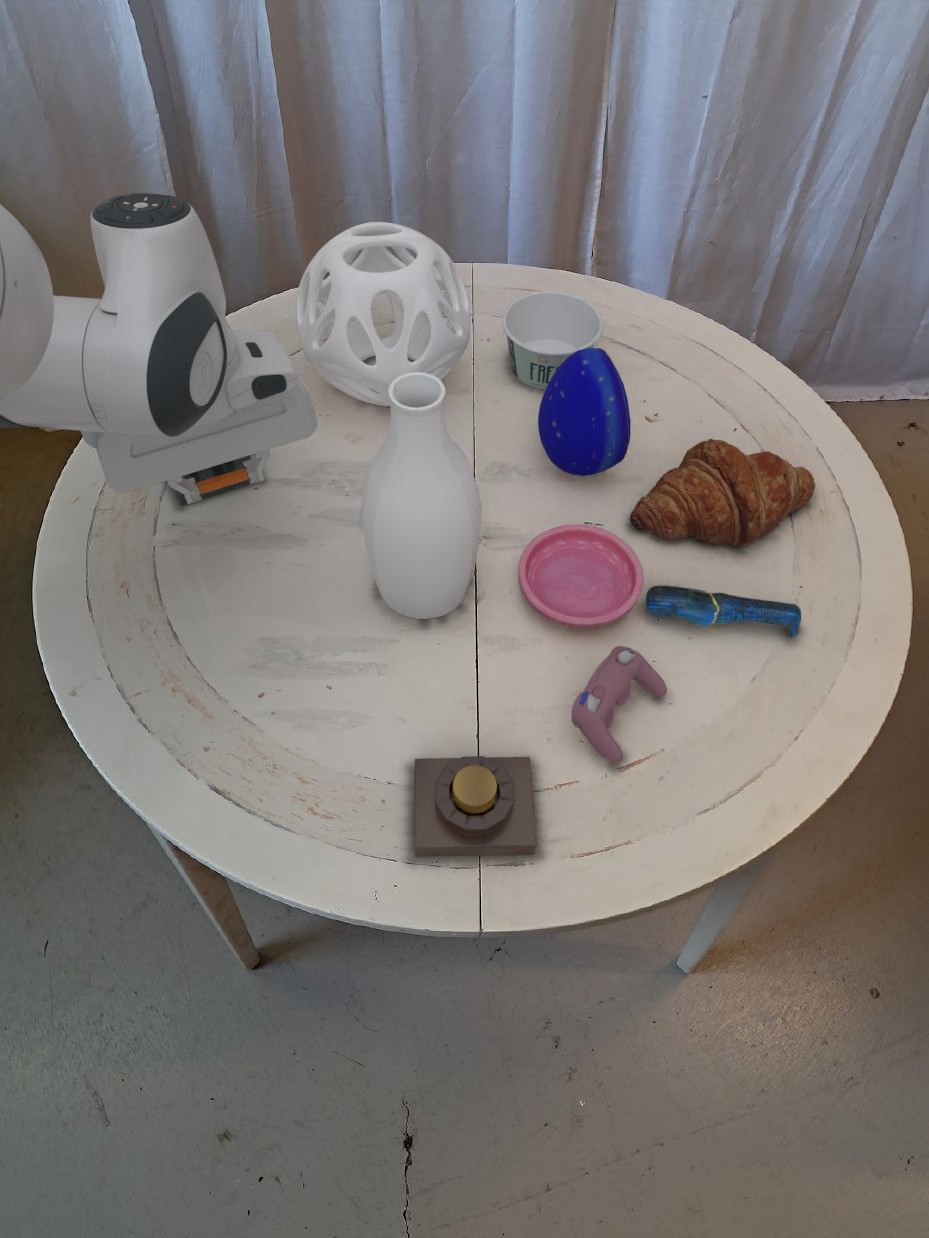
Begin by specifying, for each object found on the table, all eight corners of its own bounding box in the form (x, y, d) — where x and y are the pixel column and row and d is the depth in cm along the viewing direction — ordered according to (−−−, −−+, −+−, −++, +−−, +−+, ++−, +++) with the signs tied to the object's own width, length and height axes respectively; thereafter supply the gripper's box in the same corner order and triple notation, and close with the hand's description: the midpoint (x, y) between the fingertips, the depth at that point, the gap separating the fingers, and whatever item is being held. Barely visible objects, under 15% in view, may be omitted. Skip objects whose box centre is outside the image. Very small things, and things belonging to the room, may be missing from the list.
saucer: (552, 658, 85) (556, 639, 82) (495, 566, 91) (497, 546, 89) (661, 614, 88) (668, 595, 86) (599, 528, 95) (603, 508, 92)
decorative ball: (481, 426, 103) (486, 296, 89) (311, 442, 101) (289, 312, 87) (456, 321, 115) (457, 190, 100) (302, 333, 113) (281, 202, 98)
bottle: (367, 547, 93) (344, 347, 72) (473, 540, 93) (480, 341, 73) (370, 634, 86) (346, 443, 65) (483, 627, 87) (495, 436, 66)
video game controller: (630, 681, 86) (612, 629, 81) (672, 691, 83) (655, 638, 78) (578, 756, 81) (555, 705, 77) (620, 770, 78) (599, 718, 74)
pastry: (690, 436, 103) (706, 382, 96) (816, 490, 98) (842, 437, 92) (624, 527, 95) (637, 475, 88) (758, 590, 90) (783, 540, 84)
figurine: (791, 620, 89) (641, 604, 90) (801, 589, 87) (647, 573, 88) (799, 649, 85) (642, 632, 87) (809, 617, 83) (648, 601, 84)
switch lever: (250, 485, 89) (246, 469, 87) (202, 500, 88) (196, 484, 85) (213, 402, 95) (208, 385, 93) (167, 415, 94) (161, 398, 92)
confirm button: (453, 814, 72) (453, 806, 71) (452, 774, 74) (452, 765, 73) (497, 813, 72) (498, 805, 71) (495, 773, 74) (495, 764, 73)
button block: (415, 857, 74) (413, 839, 70) (415, 769, 78) (414, 748, 75) (534, 854, 74) (538, 837, 71) (528, 767, 78) (531, 747, 75)
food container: (576, 328, 114) (583, 283, 109) (609, 388, 108) (618, 344, 102) (487, 343, 112) (489, 298, 107) (516, 405, 106) (519, 360, 100)
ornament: (633, 485, 98) (660, 378, 86) (557, 504, 96) (574, 398, 84) (593, 420, 104) (613, 311, 92) (521, 437, 102) (531, 329, 90)
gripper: (79, 435, 73) (128, 543, 84) (313, 368, 78) (330, 478, 89) (64, 388, 76) (113, 498, 87) (290, 327, 81) (309, 438, 93)
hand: (225, 487), depth 88 cm, fingers closed on switch lever, 5 cm apart
